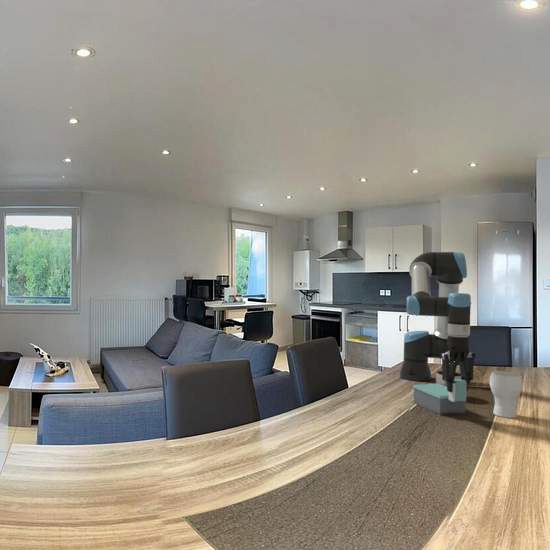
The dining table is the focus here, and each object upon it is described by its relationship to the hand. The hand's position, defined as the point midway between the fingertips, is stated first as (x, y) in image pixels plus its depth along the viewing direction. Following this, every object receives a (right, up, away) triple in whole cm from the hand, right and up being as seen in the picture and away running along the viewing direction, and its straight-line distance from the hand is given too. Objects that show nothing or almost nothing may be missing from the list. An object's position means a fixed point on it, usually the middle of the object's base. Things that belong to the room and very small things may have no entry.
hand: (457, 400), depth 160 cm
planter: (+8, -6, +28) cm, 30 cm away
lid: (-2, 0, +8) cm, 8 cm away
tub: (-3, -6, +10) cm, 12 cm away
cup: (+19, -6, +3) cm, 20 cm away
